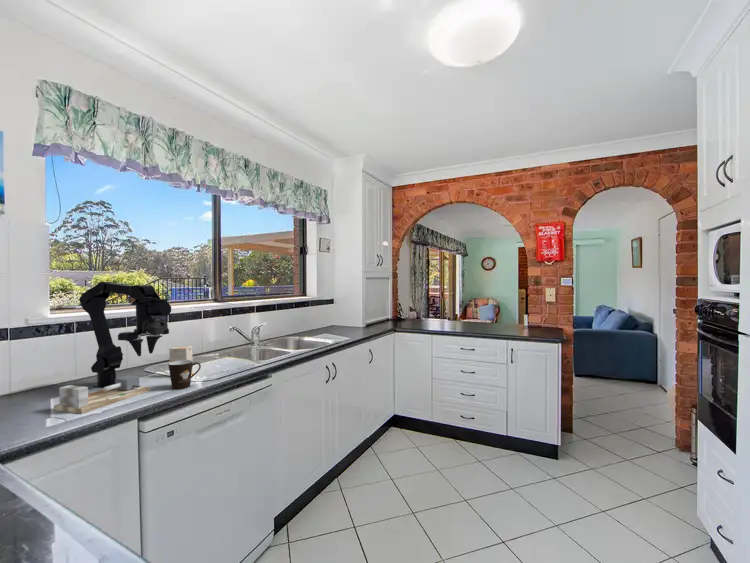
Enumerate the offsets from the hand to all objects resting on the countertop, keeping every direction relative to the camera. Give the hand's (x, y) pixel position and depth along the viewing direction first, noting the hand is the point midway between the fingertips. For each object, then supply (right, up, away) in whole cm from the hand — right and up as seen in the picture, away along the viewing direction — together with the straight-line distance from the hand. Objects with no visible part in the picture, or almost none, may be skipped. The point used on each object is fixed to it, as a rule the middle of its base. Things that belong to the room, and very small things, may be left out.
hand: (145, 354), depth 149 cm
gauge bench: (-5, -13, -16) cm, 21 cm away
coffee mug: (+17, -13, -1) cm, 21 cm away
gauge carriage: (-2, -11, -11) cm, 16 cm away
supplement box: (+6, -13, +16) cm, 22 cm away
